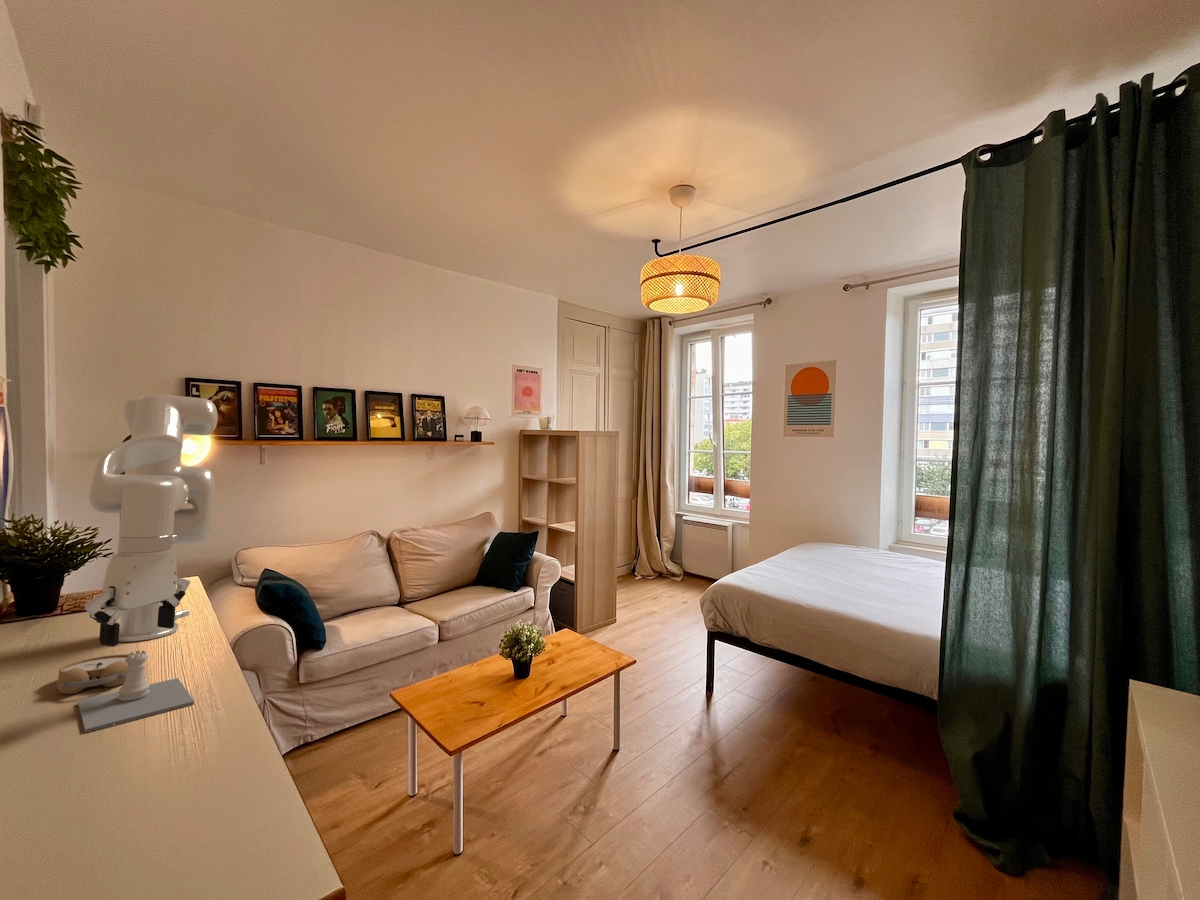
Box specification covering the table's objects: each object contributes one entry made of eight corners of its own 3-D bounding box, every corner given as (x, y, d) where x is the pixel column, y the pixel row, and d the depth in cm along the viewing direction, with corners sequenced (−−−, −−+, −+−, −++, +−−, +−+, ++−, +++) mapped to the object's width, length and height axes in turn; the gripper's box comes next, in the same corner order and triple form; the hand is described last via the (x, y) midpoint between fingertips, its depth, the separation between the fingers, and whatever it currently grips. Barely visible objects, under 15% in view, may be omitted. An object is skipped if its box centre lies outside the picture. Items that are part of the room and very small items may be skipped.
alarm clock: (139, 650, 108) (134, 660, 97) (137, 674, 107) (132, 687, 96) (64, 661, 101) (49, 673, 90) (61, 687, 100) (46, 702, 89)
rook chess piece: (112, 704, 89) (116, 659, 89) (122, 693, 93) (126, 650, 93) (145, 699, 91) (148, 655, 91) (153, 689, 95) (156, 647, 95)
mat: (77, 704, 90) (77, 700, 90) (177, 680, 100) (177, 677, 100) (84, 733, 81) (85, 729, 81) (193, 704, 91) (194, 701, 91)
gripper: (175, 536, 102) (169, 619, 102) (73, 550, 85) (65, 650, 85) (206, 539, 101) (200, 623, 101) (108, 554, 84) (100, 656, 84)
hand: (138, 635), depth 93 cm, fingers open, 9 cm apart
